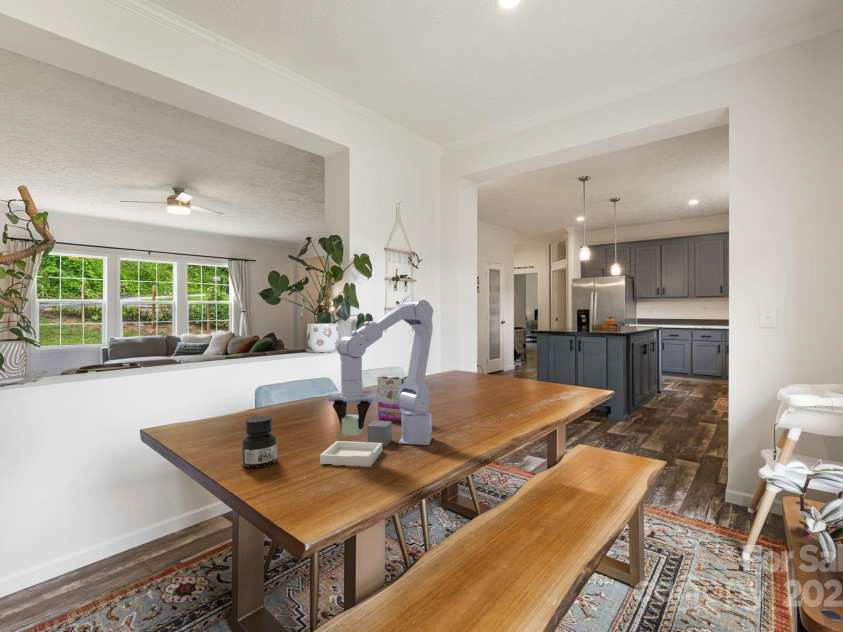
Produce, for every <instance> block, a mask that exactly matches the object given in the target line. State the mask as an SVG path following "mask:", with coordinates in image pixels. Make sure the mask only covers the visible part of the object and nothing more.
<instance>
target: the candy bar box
mask: <svg viewBox="0 0 843 632" xmlns="http://www.w3.org/2000/svg"><path fill="white" fill-rule="evenodd" d="M407 377H408V375H392V374H383V375H379V376H377V395H378V402H377V403H378V405H377V406H378V409H377V411H378V412H377V413H378V414H377V415H378V420H380V421H392V422H396V423H402V412H401V411H400V407H399V406H398V405H397V395H398V393H399V392H400V389H401V385H402V384H403V383H404V382H405V381H407Z"/></svg>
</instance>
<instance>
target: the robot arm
mask: <svg viewBox="0 0 843 632" xmlns="http://www.w3.org/2000/svg"><path fill="white" fill-rule="evenodd" d="M433 314H434V309H433V307H432V305H431V303H430V302H429V301H428V300H426V299H421V300H403V301H401V302H400V303H398V304H396V306H395V307H394V308H392V309H391V310H390V311H389V312H387V313H386V314H385V315H384V316H382V317H381V318H379V319H378V320H377V321H372V320H370V321H365V322H363V326H361V327H360V328H358V329H357V330H352V331H351V334H350V335H345V336H344V335H343V337H341V338H340V339H339V341H338V345H336V351H337V353H338V354H339V356H340V376H341V377H340V380H341V381H340V383H341V385H340V387H341V392H340V393H327V394H326V395H325V402H326V403H330V402H333V403H332V409H334V411H335V413H336V414H337V415H336V416H337V418H338V420H339V424H340V428H341V429H342V418H343V417H345V416H346V415H347V414H346V413H347V405H348V403H357V404H356V408H357V412H358V413H357V415H358V416H359V423H358V425H359V429H362V428H363V429H364V425H365V420H366V417H367V413H368V411H369V409H370V406H371V404H377V403H378V394H372V393H371V394H370V393H363V362H362V361H363V357H362V356H364V355H365V353H366V351H367V348H369V347H370V346H372V345H373V344H374V343H376V342H377V341H379V340H380V339H381V338H382V337H383V333H384V331H386V330H387V329H389V328H390V327H392V326H394V325H396V324H397V323H399V322H400V321H402V320H403V321H404V322H405V323H407V324H408V325H409V326H410V327H411V328H412V329H413V331H414V335H413V341H412V342H413V343H412V348H411V353H410V360H409V367H408V371H407V376H408V377H407V381H405V382H404V383H403V384H402V385H401V389H400V392H399V393H398V395H397V405H398V406H399V407H400V411H401V412H402V422H401V438H400V439H399V440H398V442H397V443H398V444H401V445H402V444H403V445H420V446H421V445H422V446H428V445H429V446H430V443H431V442H432V438H433V422H432V421H433V418H432V417H433V416H432V413H430V412H427V411H428V409H429V408H430V403H431V401H430V396H429V395H430V390H429V388H428V386H427V385H426V383H425V380H426V373H427V366H428V361H429V354H430V350H431V349H430V348H431V340H432V335H433V330H434V329H433V328H434V326H433Z"/></svg>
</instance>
